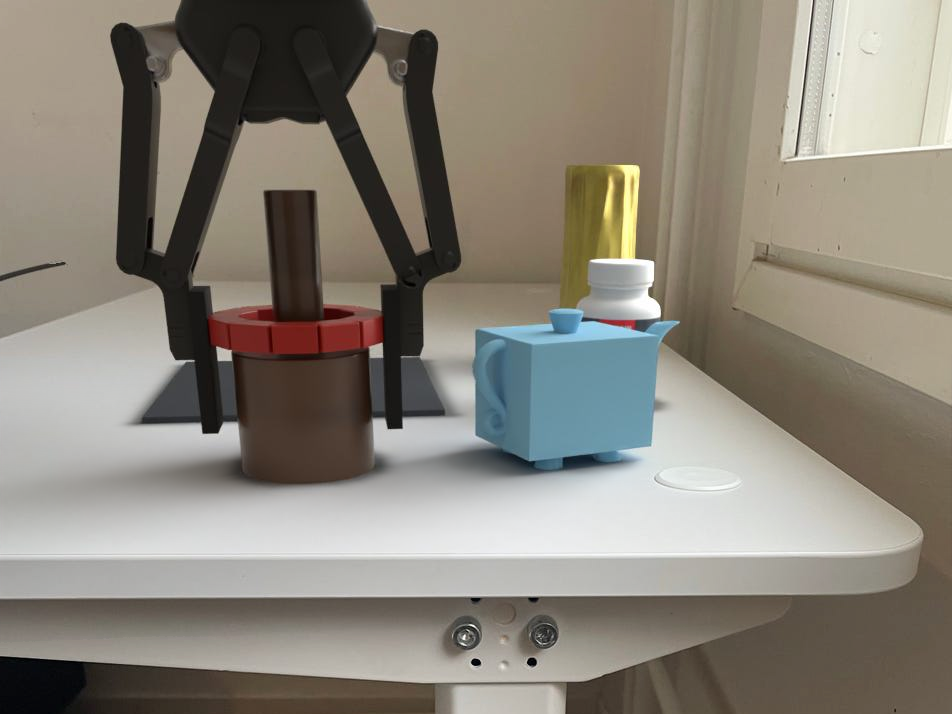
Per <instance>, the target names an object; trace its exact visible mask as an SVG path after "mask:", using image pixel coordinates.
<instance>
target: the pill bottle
mask: <svg viewBox="0 0 952 714" xmlns="http://www.w3.org/2000/svg"><path fill="white" fill-rule="evenodd" d="M654 276H655V262H654V261H652V260H648V259H638V258H635V259H595V260H590V261H589V265H588V283H587V284H588V285H589V286H591V292H590V295H589V296H586V297H584V298H583V299H581V300H580V301H579V303H578V304H577V307H576V309H578V310H581V311H583V317H582V319H581V322H589V321H595V322H599V323H604V324H608V325H613V326H618V327H622V328H627V329H631V330H635V331H640V332H644V333H645V332H646V330H647V329H648V328H649V327H650V326H651V325H652V324H654V323H656V322H661V306H660V305H659V303H658V302H657V300H655V299H654V298H652V297H650V296H649V288H651V287H653V283H654V280H655V279H654V278H655V277H654Z"/></svg>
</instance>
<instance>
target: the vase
mask: <svg viewBox="0 0 952 714" xmlns="http://www.w3.org/2000/svg"><path fill="white" fill-rule="evenodd" d="M640 173H641V172H640V166H639V165H637V164H566V166H565V170H564V188H565V189H564V210H563V211H564V212H563V213H564V214H563V215H564V217H563V242H562V243H563V245H562V258H561V259H562V261H561V273H560V290H559V302H558V303H559V305H558V306H559V307H558V309H576V307H577V304H578V303H579V301H580V300H581V299H583V298H584V297H586V296H589V295H590V292H591V286H589V285H588V284H587V283H588V265H589V261H590V260H595V259H636V242H637V241H636V240H637V239H636V238H637V222H638V221H637V220H638V206H639V205H638V202H639V184H640Z"/></svg>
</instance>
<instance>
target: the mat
mask: <svg viewBox="0 0 952 714" xmlns="http://www.w3.org/2000/svg"><path fill="white" fill-rule="evenodd" d="M370 366H371V390H372V413H373V419H374V418H385V401H384V372H383V357H370ZM218 368H219V378H220V388H221V398H222V408H223V418H224V422H226V423H227V422H238V418H237V408H236V398H235V388H234V378H233V367H232V360H218ZM401 379H402V415H403V418H404V417H441V416H443V417H444V416H446V409H445V407H444V405H443V402H442V401H441V398H440V396H439V394H438V392H437V391H436V388H435V386H434V384H433V382H432V380H431V378H430V375H429V374H428V371H427V368H426V367H425V365H424V363H423V360H422V359H421V356H401ZM224 422H223V423H224ZM141 423H142V425H146V424H147V425H148V424H151V425H152V424H180V423H181V424H183V423H184V424H185V423H186V424H188V423H201V416H200V407H199V398H198V389H197V380H196V371H195V362H194V361H185V362H184V363H183V364H182V366H181V367H180V369H179V370H177V372H176V374H175V375H174V376H173V377H172V379H171V380H170V381H169V382H168V384H167V385H166V387H164V388H163V390H162V391H161V393H159V395H158V397H156V399H155V400H154V402H152V403H151V405H150V406H149V408H148V409H147V410H146V412H145V413H144V414H143V416H142V417H141Z"/></svg>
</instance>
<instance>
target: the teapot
mask: <svg viewBox="0 0 952 714" xmlns="http://www.w3.org/2000/svg"><path fill="white" fill-rule="evenodd" d="M548 317H549V320H550V323H545V324H543V323H542V324H527V325H526V324H525V325H513V326H499V327H498V326H496V327H482V328H481V327H480V328H476V329H475V331H474V333H475V334H474V338H475V341H474V342H475V343H474V345H475V347H474V349H475V350H474V354H475V355H474V359H473V361H472V369H471V370H472V375H473V379H474V381H475V385H474V388H475V389H474V390H475V392H474V395H475V396H474V397H475V398H474V399H475V401H474V403H475V404H474V409H475V411H474V414H475V415H474V417H475V418H474V419H475V420H474V422H475V423H474V428H475V429H474V431H475V432H474V433H475V436H476V437H478V438H480V439H482V440H484V441H485V442H489V443H490V444H492V445H494V446H496V447H499V448H501V449H502V452H503V453H505V454H511V455H515V456H517V457H519V458H522V459H523V460H525V461H527V462H534V464H533V467H534V468H536V469H539V470H544V471H545V470H546V471H547V470H548V471H549V470H550V471H552V470H553V471H554V470H559V469H561V468H563V467H564V465H563V464H564V463H563V462H564V460H563V459H564V458H568V457H575V456H576V457H577V456H584V455H592V458H593V460H595V461H598V462H603V463H616V462H619V461H621V460H622V457H621V456H620V453H619V452H618V451H624V450H633V449H641V448H649V447H652V443H653V442H652V441H653V431H654V430H653V428H654V413H655V400H656V388H657V386H656V385H657V374H658V360H659V347H660V344H661V343H662V340H663V338H664V337H665V336H666V335H667V333H668V332H669V331H670V330H672V329H673V328H674V327H676V326H677V325H678V324H680V322H681V321H680V320H665V321H663V320H662V321H660V322H656V323H654V324H652V325H651V326H650V327H649V328H648V329H647V330H646V332H645V333H644V332H640V331H635V330H631V329H627V328H622V327H618V326H613V325H608V324H604V323H599V322H595V321H589V322H581V319H582V317H583V311H581V310H578V309H559V308H554V309H551V310H549V311H548Z"/></svg>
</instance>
